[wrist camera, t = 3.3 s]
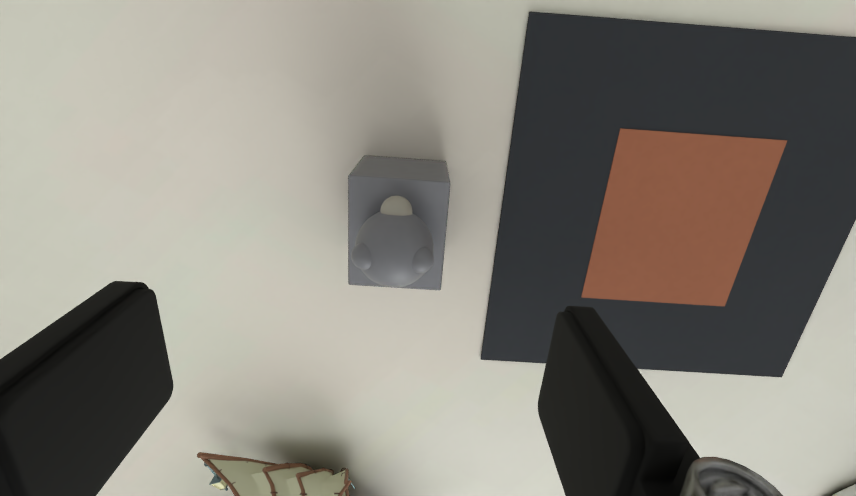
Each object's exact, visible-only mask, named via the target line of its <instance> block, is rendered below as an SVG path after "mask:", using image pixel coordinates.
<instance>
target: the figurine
mask: <svg viewBox="0 0 856 496" xmlns="http://www.w3.org/2000/svg"><path fill="white" fill-rule="evenodd" d="M197 457H198V458H201V459H202V460H203V461H204V465H205V466H208V468H209V469H210V470H211V472H212V473H213V472H214V473H213V474H214V477H213V479H212V481H211V482H210V484H209V485H212V486H214V487H216V488H218V489H220V490H223V489H225V490H226V491H227V490H228V488H227V486H229V487H230V489H231V490H232V492H233V494H234V495H235V496H350V495H349V490H348V486H349V485H350V484H351V485H352V486H353V484H352V483H351V482H352V481H350V480H349V478H348V475H349V470H348V469H346V468H342V469H343V470H344V471H343V470H342V469H341V472H339V473H337V474H335V475H333V473H332V471H333V470H332V471H331V469H330V470H328V469H325V468H322V469H316V470H313V469H312V468H311V467H310V466H307V465H306V464H302V463H284V464H275V463H270V462H264V461H259V460H253V459H248V458H241V457H233V456H225V455H217V454H209V453H201V452H200V453H198V454H197ZM208 459H209V460H208ZM353 488H354V489H355V487H354V486H353Z"/></svg>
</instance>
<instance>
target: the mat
mask: <svg viewBox="0 0 856 496" xmlns="http://www.w3.org/2000/svg"><path fill="white" fill-rule="evenodd" d="M855 220H856V37H845V36H833V35H820V34H807V33H794V32H782V31H769V30H756V29H743V28H731V27H718V26H705V25H693V24H680V23H667V22H654V21H642V20H629V19H616V18H604V17H591V16H578V15H565V14H553V13H540V12H529V17H528V24H527V31H526V39H525V46H524V53H523V60H522V67H521V74H520V82H519V89H518V96H517V103H516V110H515V117H514V125H513V132H512V139H511V146H510V153H509V160H508V167H507V175H506V182H505V189H504V196H503V203H502V210H501V218H500V225H499V232H498V239H497V246H496V253H495V261H494V268H493V275H492V282H491V289H490V296H489V303H488V311H487V318H486V325H485V332H484V339H483V346H482V354H481V360H498V361H515V362H532V363H546V362H547V358H548V353H549V348H550V344H551V339H552V334H553V330H554V325H555V320H556V316H557V314H558V312H559V311H562V312H564V310H565V309H566V307H567V306H581V307H593V308H594V309H595V310H596V312H597V313H598V315H599V316H600V317H601V319H602V320H603V322H604V323H605V324H606V326H607V327H608V329H609V330H610V331H611V333H612V334H613V336H614V337H615V338H616V340H617V341H618V343H619V344H620V345H621V347H622V348H623V350H624V351H625V353H626V354H627V355H628V357H629V358H630V360H631V361H632V362H633V364H634V365H635V367H636V368H637V369H651V370H668V371H685V372H702V373H719V374H736V375H753V376H770V377H782V376H783V373H784V371H785V369H786V367H787V365H788V363H789V361H790V358H791V356H792V354H793V352H794V350H795V348H796V346H797V344H798V341H799V339H800V337H801V335H802V333H803V331H804V329H805V326H806V324H807V322H808V320H809V318H810V316H811V314H812V312H813V309H814V307H815V305H816V303H817V301H818V299H819V297H820V294H821V292H822V290H823V288H824V286H825V284H826V282H827V280H828V277H829V275H830V273H831V271H832V269H833V267H834V265H835V262H836V260H837V258H838V256H839V254H840V252H841V250H842V247H843V245H844V243H845V241H846V239H847V237H848V235H849V233H850V230H851V228H852V226H853V224H854V222H855Z"/></svg>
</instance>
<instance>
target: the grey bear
mask: <svg viewBox="0 0 856 496" xmlns="http://www.w3.org/2000/svg"><path fill="white" fill-rule="evenodd" d="M449 193H450V179H449V174H448V169H447V163H446V161H438V160H423V159H409V158H395V157H380V156H366V155H365V156H364V157H363V158H362V159H361V160H360V162H359V163H358V164H357V166H356V167H355V168H354V169H353V171H352V172H351V173H350V175H349V176H348V283H349V285H362V286H378V287H394V288H410V289H426V290H441V282H442V271H443V260H444V248H445V237H446V226H447V215H448V204H449Z"/></svg>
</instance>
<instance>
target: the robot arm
mask: <svg viewBox="0 0 856 496" xmlns="http://www.w3.org/2000/svg"><path fill="white" fill-rule="evenodd" d="M172 391H173V380H172V375H171V370H170V365H169V360H168V355H167V350H166V345H165V340H164V335H163V330H162V325H161V320H160V315H159V310H158V305H157V300H156V295H155V293H154V291H153V290H151V289H148V287H147V285H146V284H144V283H142V282H124V281H114V282H112V283H110V284H108V285H107V286H106V287H104V288H103V289H101V290H100V291H98V292H97V293H95V294H94V295H93V296H91V297H90V298H88V299H87V300H85V301H84V302H82V303H81V304H80V305H78V306H77V307H75V308H74V309H72V310H71V311H69V312H68V313H67V314H65V315H64V316H62V317H61V318H59V319H58V320H56V321H55V322H54V323H52V324H51V325H49V326H48V327H46V328H45V329H43V330H42V331H41V332H39V333H38V334H36V335H35V336H33V337H32V338H30V339H29V340H28V341H26V342H25V343H23V344H22V345H20V346H19V347H17V348H16V349H15V350H13V351H12V352H10V353H9V354H7V355H6V356H4V357H3V358H2V359H0V496H96V495H97V494H98V492H99V491H100V490H101V488H102V487H103V486H104V484H105V483H106V482H107V480H108V479H109V478H110V476H111V475H112V474H113V473H114V471H115V470H116V469H117V467H118V466H119V465H120V463H121V462H122V461H123V459H124V458H125V457H126V455H127V454H128V453H129V452H130V450H131V449H132V448H133V446H134V445H135V444H136V442H137V441H138V440H139V438H140V437H141V436H142V434H143V433H144V432H145V431H146V429H147V428H148V427H149V425H150V424H151V423H152V421H153V420H154V419H155V417H156V416H157V415H158V414H159V412H160V411H161V410H162V408H163V407H164V406H165V404H166V403H167V402H168V400H169V399H170V397H171V394H172ZM538 412H539V417H540V420H541V423H542V426H543V429H544V432H545V435H546V438H547V441H548V444H549V447H550V450H551V453H552V456H553V459H554V462H555V465H556V468H557V471H558V474H559V477H560V480H561V483H562V486H563V489H564V492H565V495H566V496H783V495H782V494H781V493H780V492H779V491H778V490H777V489H776V488H775V487H774V486H773V485H772V484H770V483H769V482H768V481H767V480H765V479H764V478H763V477H762V476H760V475H759V474H757V473H755V472H753V471H752V470H750V469H748V468H747V467H745V466H743V465H740V464H738V463H735V462H733V461H730V460H727V459H722V458H717V457H702V458H700V457H699V456H698V454H697V453H696V451H695V450H694V449H693V447H692V446H691V444H690V443H689V441H688V440H687V438H686V437H685V436H684V434H683V433H682V431H681V430H680V429H679V427H678V426H677V424H676V423H675V421H674V420H673V419H672V417H671V416H670V414H669V413H668V412H667V410H666V409H665V407H664V406H663V405H662V403H661V402H660V400H659V399H658V398H657V396H656V395H655V393H654V392H653V391H652V389H651V388H650V386H649V385H648V383H647V382H646V381H645V379H644V378H643V376H642V375H641V374H640V372H639V371H638V369H637V368H636V367H635V365H634V364H633V362H632V361H631V360H630V358H629V357H628V355H627V354H626V353H625V351H624V350H623V348H622V347H621V345H620V344H619V343H618V341H617V340H616V338H615V337H614V336H613V334H612V333H611V331H610V330H609V329H608V327H607V326H606V324H605V323H604V322H603V320H602V319H601V317H600V316H599V315H598V313H597V312H596V310H595V309H594V308H593V307H581V306H567V307H566V309H565V310H564V312H562V311H559V312H558V314H557V316H556V320H555V325H554V330H553V334H552V339H551V344H550V348H549V353H548V358H547V362H546V367H545V372H544V376H543V381H542V386H541V390H540V395H539V400H538ZM832 496H856V484H854V485H852V486H850V487H848V488H846V489H843V490H841V491H839V492H837V493H835V494H834V495H832Z"/></svg>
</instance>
